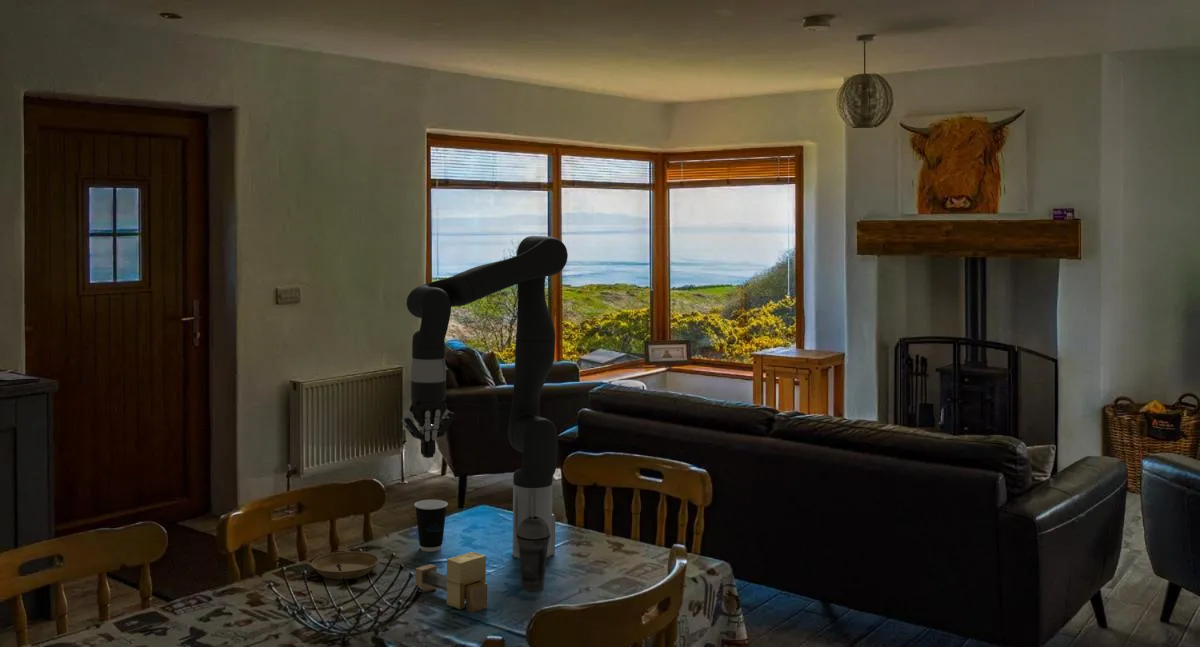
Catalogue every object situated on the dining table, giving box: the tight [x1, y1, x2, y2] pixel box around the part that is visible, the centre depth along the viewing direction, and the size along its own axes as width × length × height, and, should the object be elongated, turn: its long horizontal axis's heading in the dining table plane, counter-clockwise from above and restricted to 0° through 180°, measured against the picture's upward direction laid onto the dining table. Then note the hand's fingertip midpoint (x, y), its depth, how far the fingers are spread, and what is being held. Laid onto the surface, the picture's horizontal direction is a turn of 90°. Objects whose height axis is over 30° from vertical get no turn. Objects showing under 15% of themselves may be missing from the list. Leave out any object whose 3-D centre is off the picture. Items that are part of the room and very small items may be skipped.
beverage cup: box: [517, 496, 550, 592], centre depth 233 cm, size 7×7×20 cm
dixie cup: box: [414, 499, 449, 553], centre depth 260 cm, size 8×8×11 cm
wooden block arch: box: [446, 551, 487, 610], centre depth 222 cm, size 4×7×10 cm, turn 138°
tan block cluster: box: [415, 563, 488, 613], centre depth 226 cm, size 18×9×5 cm, turn 48°
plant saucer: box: [310, 551, 380, 580], centre depth 242 cm, size 15×15×3 cm
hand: (428, 456), depth 237 cm, fingers closed
